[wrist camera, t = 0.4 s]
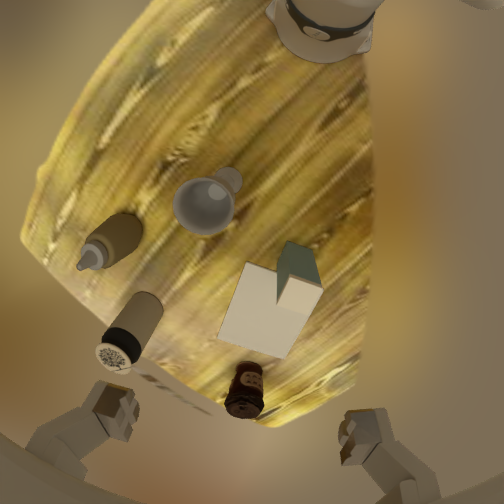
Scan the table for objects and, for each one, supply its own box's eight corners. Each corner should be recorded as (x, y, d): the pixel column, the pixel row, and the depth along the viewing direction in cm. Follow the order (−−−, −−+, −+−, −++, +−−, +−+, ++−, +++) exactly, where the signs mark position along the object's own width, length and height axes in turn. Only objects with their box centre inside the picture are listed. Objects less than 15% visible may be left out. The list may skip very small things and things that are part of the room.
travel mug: (125, 295, 61) (86, 344, 44) (153, 288, 59) (117, 341, 43) (141, 323, 64) (109, 376, 47) (169, 318, 62) (140, 374, 46)
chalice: (250, 164, 48) (237, 180, 31) (246, 202, 51) (231, 238, 34) (208, 160, 48) (173, 175, 32) (205, 198, 51) (172, 231, 34)
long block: (287, 240, 53) (290, 277, 40) (312, 250, 53) (322, 288, 40) (277, 263, 55) (276, 305, 42) (301, 272, 55) (307, 315, 42)
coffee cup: (246, 351, 64) (239, 394, 52) (274, 368, 65) (272, 410, 54) (225, 370, 67) (216, 411, 55) (252, 385, 69) (247, 426, 57)
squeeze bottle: (143, 206, 52) (92, 240, 36) (151, 245, 55) (107, 291, 39) (109, 210, 53) (54, 243, 37) (117, 247, 56) (69, 290, 40)
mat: (246, 260, 55) (246, 262, 54) (323, 288, 56) (324, 289, 55) (217, 336, 63) (216, 338, 62) (283, 357, 64) (283, 359, 63)
